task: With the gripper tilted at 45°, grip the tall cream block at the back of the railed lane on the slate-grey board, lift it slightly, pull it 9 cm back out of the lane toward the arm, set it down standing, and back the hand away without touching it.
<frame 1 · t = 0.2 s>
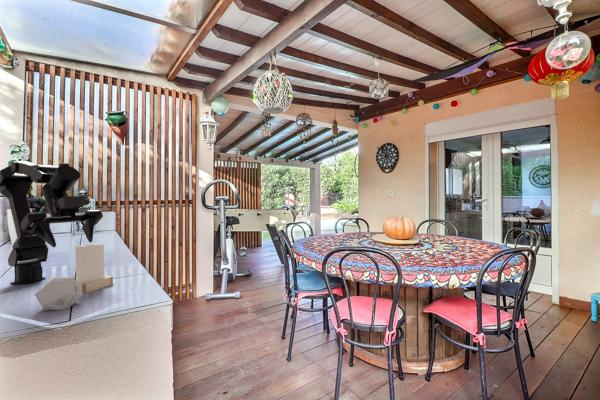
hand: (73, 244, 84), 15 cm above the countertop, tool tilted 35°, fingers open, 9 cm apart
block: (90, 287, 87), point 1 cm above the countertop, touching lane rack
die: (60, 310, 72), on the countertop
lane rack: (80, 288, 89), on the countertop
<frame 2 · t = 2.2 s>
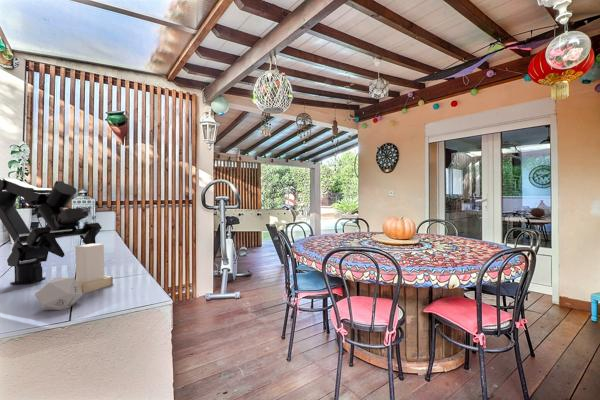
hand: (80, 253, 89), 11 cm above the countertop, tool tilted 45°, fingers open, 9 cm apart
nothing on the countertop moved.
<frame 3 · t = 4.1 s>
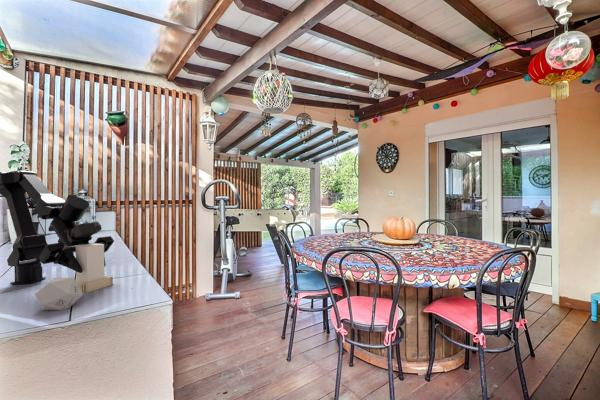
hand: (93, 269, 87), 7 cm above the countertop, tool tilted 45°, fingers open, 6 cm apart
block: (90, 287, 87), point 1 cm above the countertop, touching gripper, lane rack
everything else where it was.
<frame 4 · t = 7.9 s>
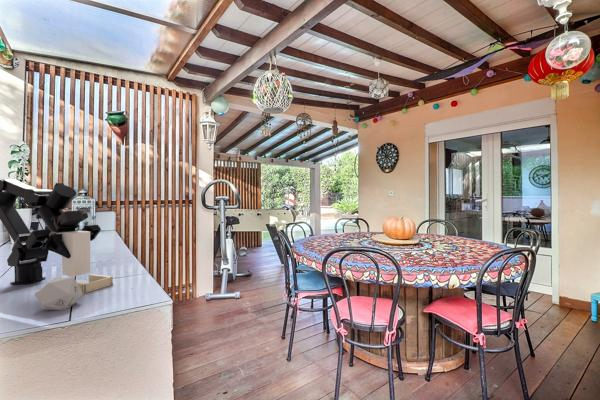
hand: (79, 255, 89), 10 cm above the countertop, tool tilted 45°, fingers closed on block, 5 cm apart
block: (76, 273, 89), point 5 cm above the countertop, touching gripper
everything else where it was.
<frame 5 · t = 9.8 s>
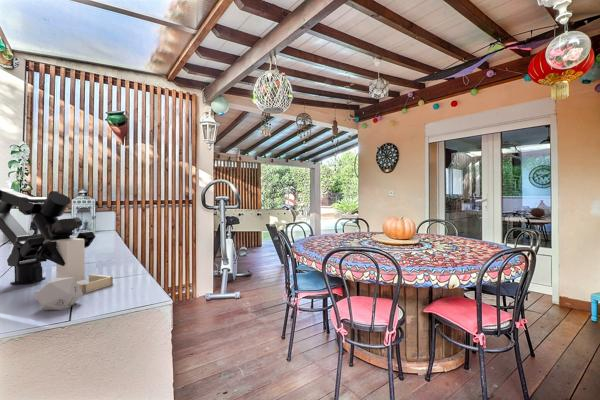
hand: (73, 263, 90), 8 cm above the countertop, tool tilted 45°, fingers closed on block, 5 cm apart
block: (70, 280, 90), point 2 cm above the countertop, touching gripper
everything else where it was.
when the fingers open (7 cm above the countertop, at t = 11.3 s): block stays where it is, resting on lane rack.
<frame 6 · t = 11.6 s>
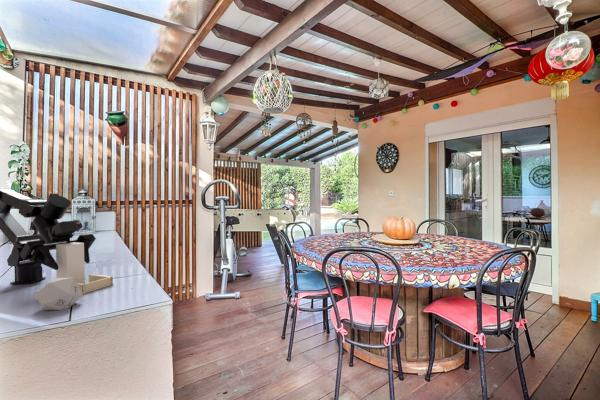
hand: (73, 265, 90), 7 cm above the countertop, tool tilted 45°, fingers open, 9 cm apart
block: (71, 285, 90), point 1 cm above the countertop, touching lane rack
everything else where it was.
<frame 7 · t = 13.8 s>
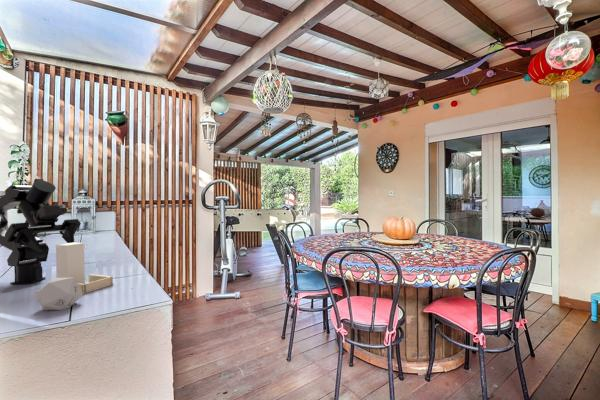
hand: (57, 248, 92), 12 cm above the countertop, tool tilted 45°, fingers open, 9 cm apart
nothing on the countertop moved.
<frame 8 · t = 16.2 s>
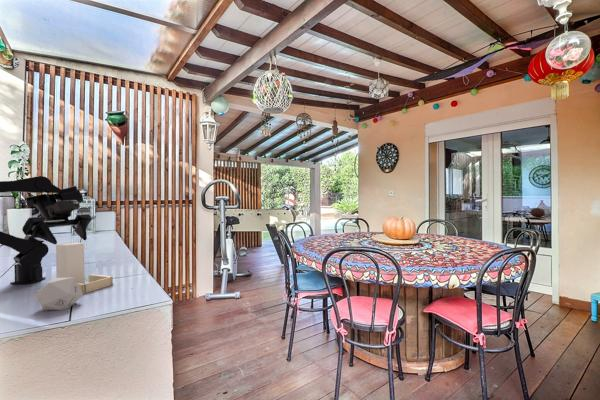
hand: (71, 241, 97), 14 cm above the countertop, tool tilted 45°, fingers open, 9 cm apart
nothing on the countertop moved.
at the end: block 0.0 cm from the target spot, point 0.8 cm above the countertop; block tilted 0°; the gripper is holding nothing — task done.
